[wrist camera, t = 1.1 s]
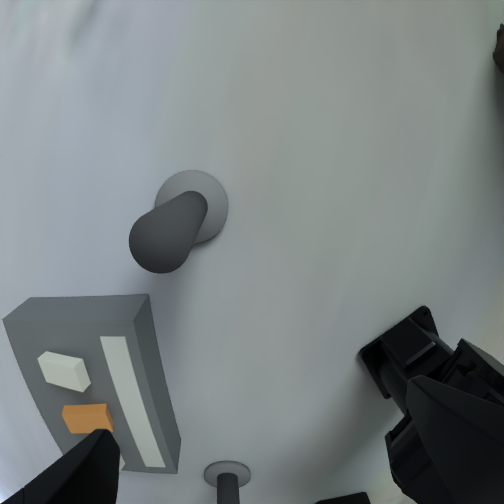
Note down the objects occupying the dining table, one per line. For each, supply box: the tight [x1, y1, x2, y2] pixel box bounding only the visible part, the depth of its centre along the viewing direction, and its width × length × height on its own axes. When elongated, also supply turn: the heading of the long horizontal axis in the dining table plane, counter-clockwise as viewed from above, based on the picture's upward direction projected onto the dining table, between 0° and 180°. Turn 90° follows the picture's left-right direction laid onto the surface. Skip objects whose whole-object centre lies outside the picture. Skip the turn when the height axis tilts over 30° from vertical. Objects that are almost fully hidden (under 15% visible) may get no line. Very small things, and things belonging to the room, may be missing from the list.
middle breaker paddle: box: [62, 404, 114, 433], centre depth 17 cm, size 3×2×1 cm, turn 93°
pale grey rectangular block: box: [37, 351, 91, 392], centre depth 16 cm, size 3×2×1 cm, turn 93°
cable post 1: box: [129, 170, 228, 273], centre depth 15 cm, size 4×4×10 cm
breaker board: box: [2, 294, 181, 474], centre depth 20 cm, size 10×14×4 cm
